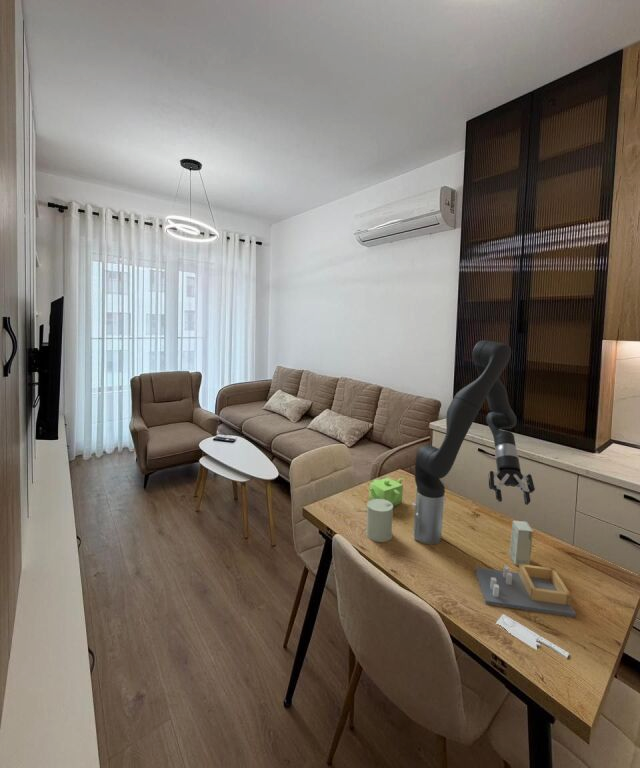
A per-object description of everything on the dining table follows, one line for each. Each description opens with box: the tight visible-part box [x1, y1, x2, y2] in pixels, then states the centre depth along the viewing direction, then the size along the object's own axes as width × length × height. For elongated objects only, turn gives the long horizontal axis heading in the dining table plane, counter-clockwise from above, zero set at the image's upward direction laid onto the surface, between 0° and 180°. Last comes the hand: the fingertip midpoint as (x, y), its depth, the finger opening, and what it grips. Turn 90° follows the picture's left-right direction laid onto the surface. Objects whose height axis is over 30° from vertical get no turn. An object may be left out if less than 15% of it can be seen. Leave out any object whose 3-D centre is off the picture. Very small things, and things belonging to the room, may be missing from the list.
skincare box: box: [509, 520, 534, 567], centre depth 118 cm, size 6×4×12 cm
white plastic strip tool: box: [495, 613, 570, 660], centre depth 89 cm, size 5×15×1 cm, turn 40°
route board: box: [474, 564, 577, 618], centre depth 105 cm, size 22×14×4 cm, turn 79°
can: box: [365, 499, 394, 543], centre depth 131 cm, size 9×9×12 cm
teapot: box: [367, 477, 405, 507], centre depth 153 cm, size 15×13×11 cm
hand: (513, 502), depth 126 cm, fingers open, 8 cm apart
